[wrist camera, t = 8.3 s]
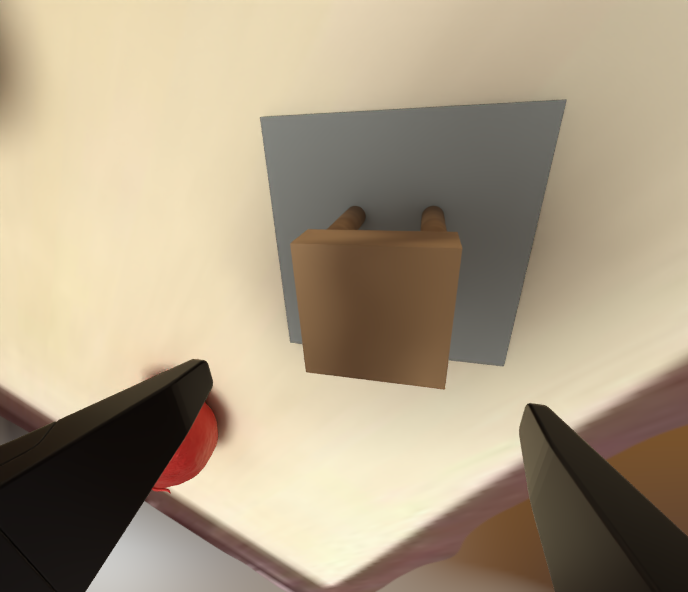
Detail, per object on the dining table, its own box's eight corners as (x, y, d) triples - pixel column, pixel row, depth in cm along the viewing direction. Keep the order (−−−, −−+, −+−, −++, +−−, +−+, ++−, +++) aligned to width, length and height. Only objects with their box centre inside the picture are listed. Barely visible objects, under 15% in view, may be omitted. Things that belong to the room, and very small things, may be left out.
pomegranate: (211, 365, 29) (127, 455, 20) (242, 445, 33) (182, 547, 24) (123, 364, 31) (17, 444, 23) (162, 439, 35) (84, 529, 27)
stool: (449, 202, 17) (462, 248, 10) (439, 300, 20) (444, 389, 13) (341, 202, 19) (290, 243, 12) (346, 294, 21) (306, 372, 14)
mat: (563, 100, 15) (566, 99, 14) (502, 362, 21) (503, 366, 21) (263, 117, 18) (260, 116, 18) (292, 339, 25) (290, 342, 24)
